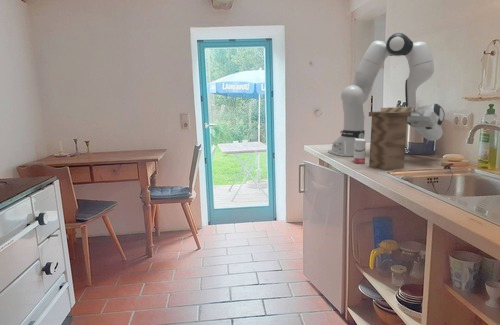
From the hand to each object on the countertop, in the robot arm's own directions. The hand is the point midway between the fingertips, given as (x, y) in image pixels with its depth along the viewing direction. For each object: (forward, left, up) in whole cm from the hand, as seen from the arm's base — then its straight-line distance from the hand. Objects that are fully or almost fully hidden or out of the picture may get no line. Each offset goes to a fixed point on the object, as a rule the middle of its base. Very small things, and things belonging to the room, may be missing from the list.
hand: (406, 108), depth 167 cm
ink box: (-16, -12, -28) cm, 34 cm away
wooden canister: (0, -11, -27) cm, 30 cm away
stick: (0, -6, -1) cm, 7 cm away
